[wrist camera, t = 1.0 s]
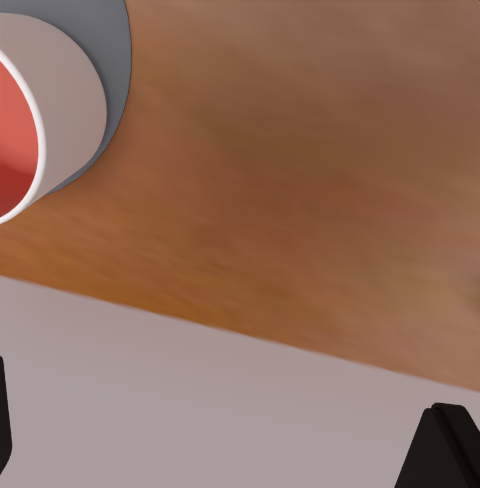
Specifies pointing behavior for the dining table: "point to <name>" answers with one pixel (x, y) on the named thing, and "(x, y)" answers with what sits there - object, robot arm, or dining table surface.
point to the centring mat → (91, 49)
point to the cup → (44, 110)
